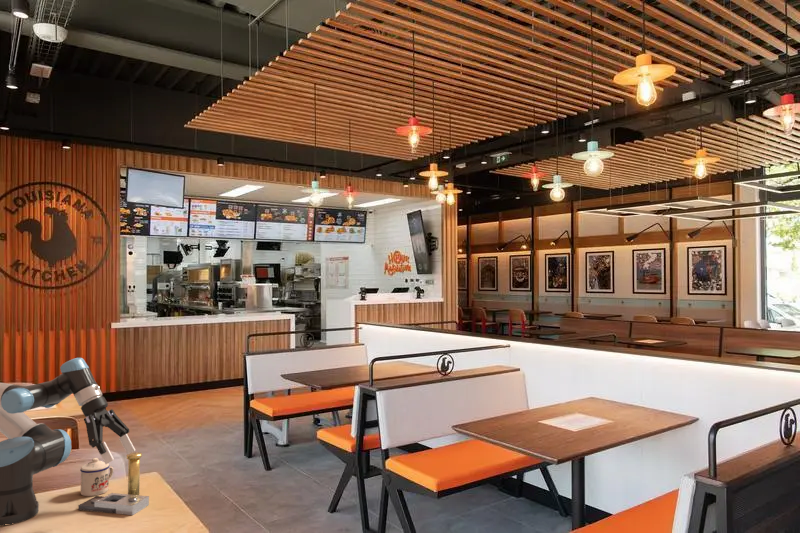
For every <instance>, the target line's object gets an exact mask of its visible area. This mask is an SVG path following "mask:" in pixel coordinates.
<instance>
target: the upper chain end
mask: <svg viewBox="0 0 800 533" xmlns="http://www.w3.org/2000/svg"><path fill="white" fill-rule="evenodd" d="M102 497H103V498H101V499H99V500H97V501H96V502H94V507H102V508H112V509H114V510H115V509H116V510H115V512H116V514H118V515H128V516H134V515H136V514H137V513H139V512H141V511H142V510H144V509H145V508H147V507H149V506H148V505H149V504H150V496H148V495H140V494H139V495H129V494H128V493H118V492H111V493H109V494H107V495H105V496H102ZM112 499H114V500H118V501H116V502H109V501H110V500H112ZM146 506H147V507H146Z"/></svg>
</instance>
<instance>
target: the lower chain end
mask: <svg viewBox="0 0 800 533" xmlns="http://www.w3.org/2000/svg"><path fill="white" fill-rule="evenodd" d="M103 497H104V496H103V495H102V496H100V495H96V496H92V497H91V498H90V499H88V500H85V501H83V502H82V503H80V504H78V505H77V508H78V509H77V510H78V511H87V512H96V513H97V512H98V513H107V514H116V512H115V510H116V509H115V510H114V509H112V508H102V507H94V502H96V501H97V500H99V499H101V498H103ZM116 501H118V500H114V499H112V500H110V501H109V502H116Z"/></svg>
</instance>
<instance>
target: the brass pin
mask: <svg viewBox="0 0 800 533" xmlns="http://www.w3.org/2000/svg"><path fill="white" fill-rule="evenodd" d="M142 456H143V453H142V452H138V451H137V452H135V451H134V452H132V453H131V454H129V455H127V454H126V459H127V460H128V461H127V462H128V468H127V469H128V471H127V494H129V495H140V481H141V480H140V471H141V470H140V467H141V466H140V465H141V460H140V459H141V458H142Z"/></svg>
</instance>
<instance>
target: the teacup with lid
mask: <svg viewBox="0 0 800 533" xmlns="http://www.w3.org/2000/svg"><path fill="white" fill-rule="evenodd" d="M113 475H114V467H113V466H110V462H109V463H108V464H105V462H104V461H102V460H99V458H98V457H95V458H92V460H91V461H89V462H88V463H85V464H83V465H82V466H81V467H80V495H82V496H83V497H95V496H100V495H103V494H105V493H107V492H108V490H109V486H110V485H109V480H110V479H112V477H113Z"/></svg>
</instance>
